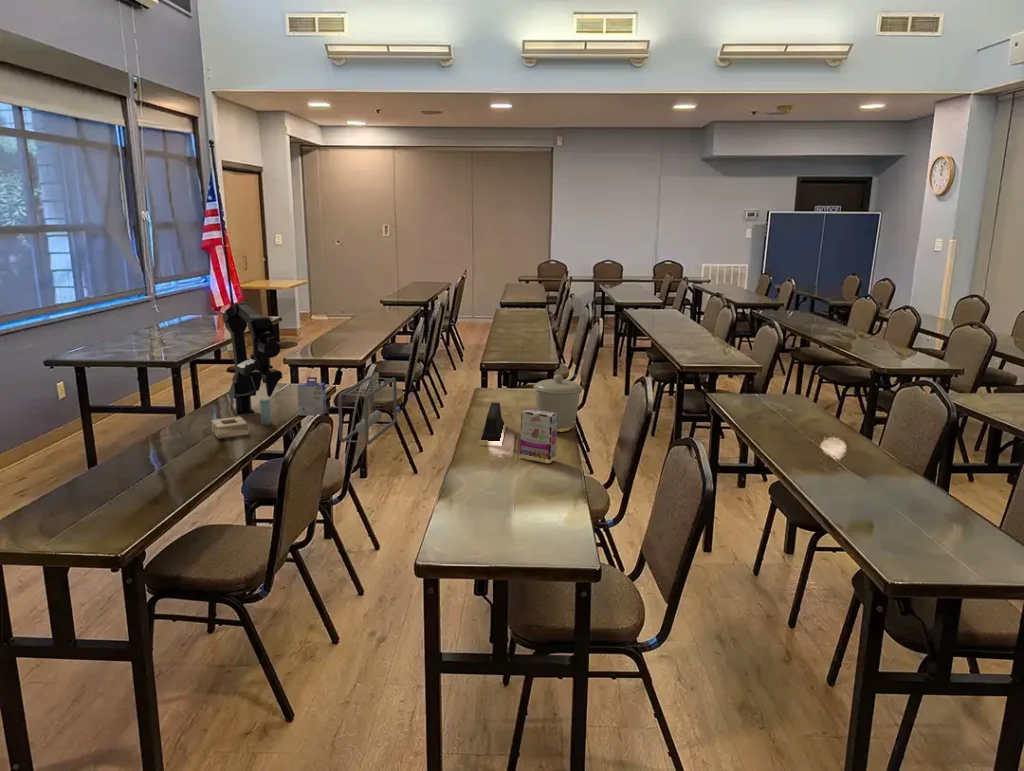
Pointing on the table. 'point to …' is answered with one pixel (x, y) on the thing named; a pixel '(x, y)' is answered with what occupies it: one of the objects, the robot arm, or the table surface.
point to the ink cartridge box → (311, 398)
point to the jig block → (229, 427)
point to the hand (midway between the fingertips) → (263, 393)
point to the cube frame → (373, 416)
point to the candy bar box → (538, 433)
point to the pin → (265, 411)
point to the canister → (559, 399)
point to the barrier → (493, 424)
